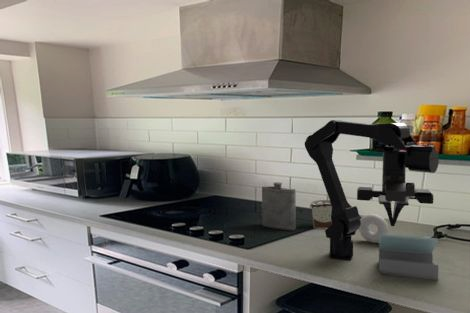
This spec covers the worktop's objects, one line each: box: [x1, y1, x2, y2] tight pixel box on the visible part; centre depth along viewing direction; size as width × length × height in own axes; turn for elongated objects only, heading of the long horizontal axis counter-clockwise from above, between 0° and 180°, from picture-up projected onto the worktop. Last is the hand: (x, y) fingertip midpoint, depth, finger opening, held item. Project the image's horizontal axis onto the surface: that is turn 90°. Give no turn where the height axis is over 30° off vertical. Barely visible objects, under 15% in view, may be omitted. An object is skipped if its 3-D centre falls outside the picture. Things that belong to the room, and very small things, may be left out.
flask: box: [261, 181, 297, 231], centre depth 145 cm, size 4×14×18 cm, turn 57°
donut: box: [358, 213, 390, 244], centre depth 126 cm, size 10×4×10 cm, turn 54°
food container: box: [309, 199, 332, 229], centre depth 147 cm, size 12×6×10 cm, turn 92°
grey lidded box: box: [378, 248, 439, 281], centre depth 103 cm, size 14×9×4 cm, turn 72°
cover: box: [378, 233, 439, 254], centre depth 103 cm, size 14×9×1 cm
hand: (392, 225), depth 101 cm, fingers closed
